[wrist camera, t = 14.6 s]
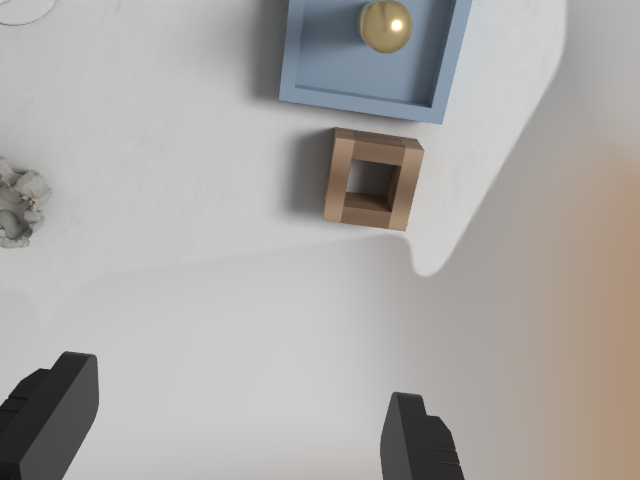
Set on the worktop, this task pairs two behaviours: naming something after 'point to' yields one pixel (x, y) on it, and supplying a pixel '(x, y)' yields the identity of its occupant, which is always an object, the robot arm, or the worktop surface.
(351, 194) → the bracket
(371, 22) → the pin
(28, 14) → the teacup
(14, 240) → the egg carton
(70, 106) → the worktop surface
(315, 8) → the tray
